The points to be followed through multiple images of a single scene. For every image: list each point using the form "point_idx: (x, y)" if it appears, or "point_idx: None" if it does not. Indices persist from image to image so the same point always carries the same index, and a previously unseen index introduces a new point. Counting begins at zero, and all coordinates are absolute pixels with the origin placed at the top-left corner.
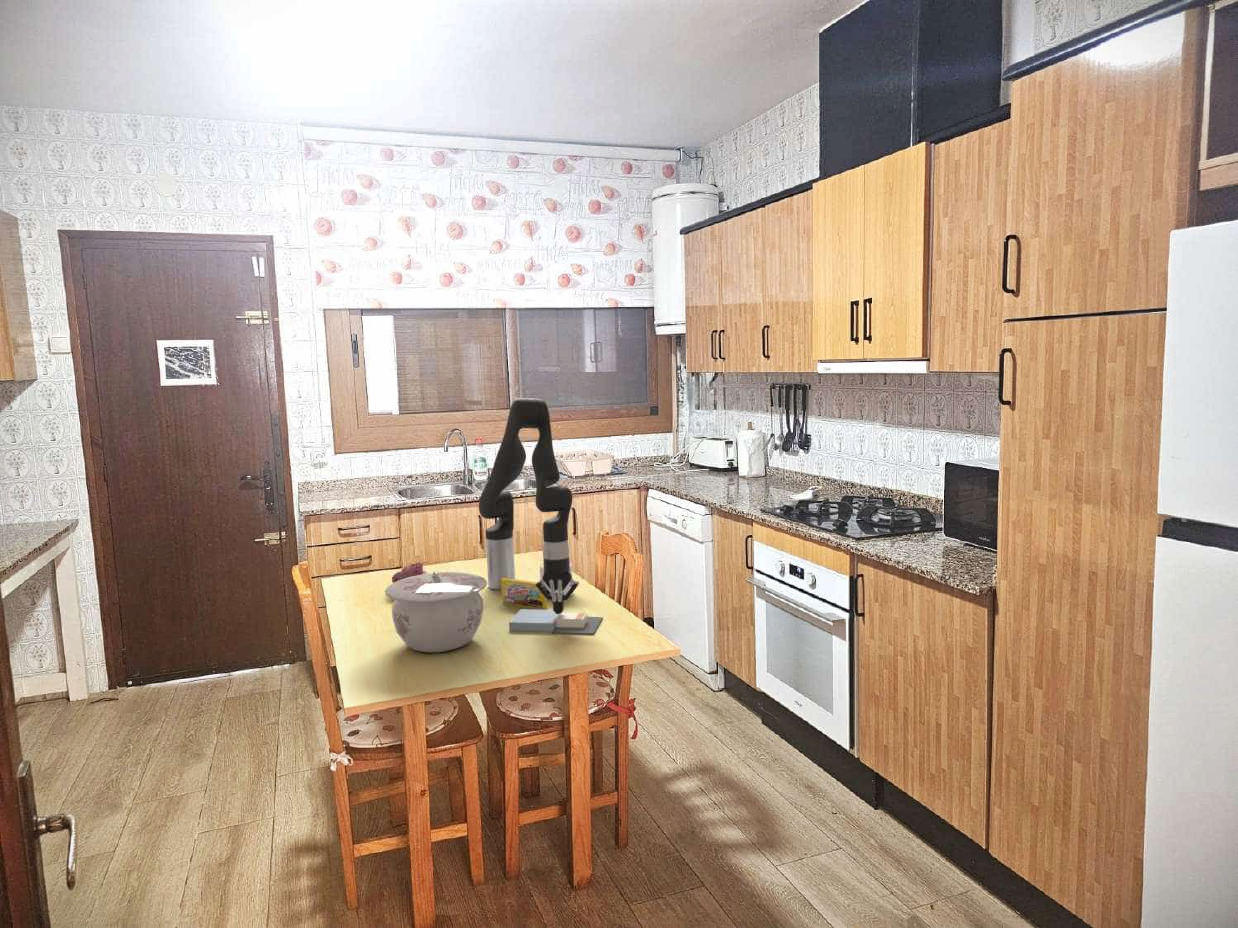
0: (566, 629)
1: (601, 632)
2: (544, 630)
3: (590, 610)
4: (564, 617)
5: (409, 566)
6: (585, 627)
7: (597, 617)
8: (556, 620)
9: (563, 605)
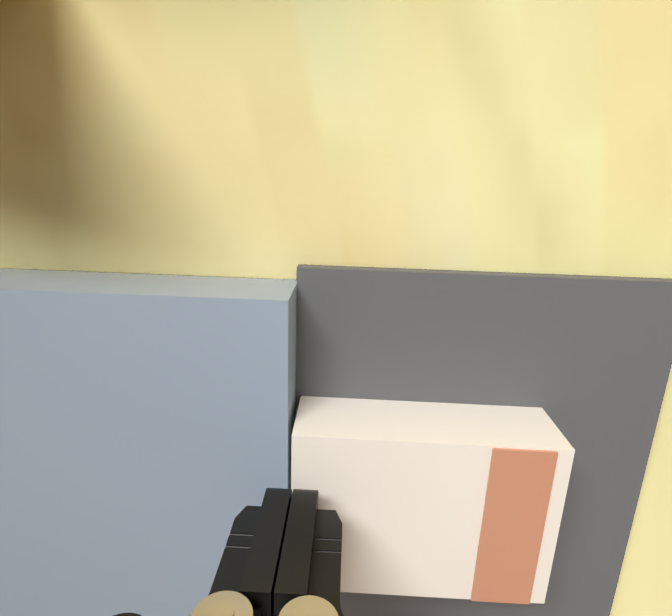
0: None
1: (656, 583)
2: None
3: (551, 3)
4: (364, 561)
5: None
6: None
7: (638, 295)
8: None
9: (340, 565)
